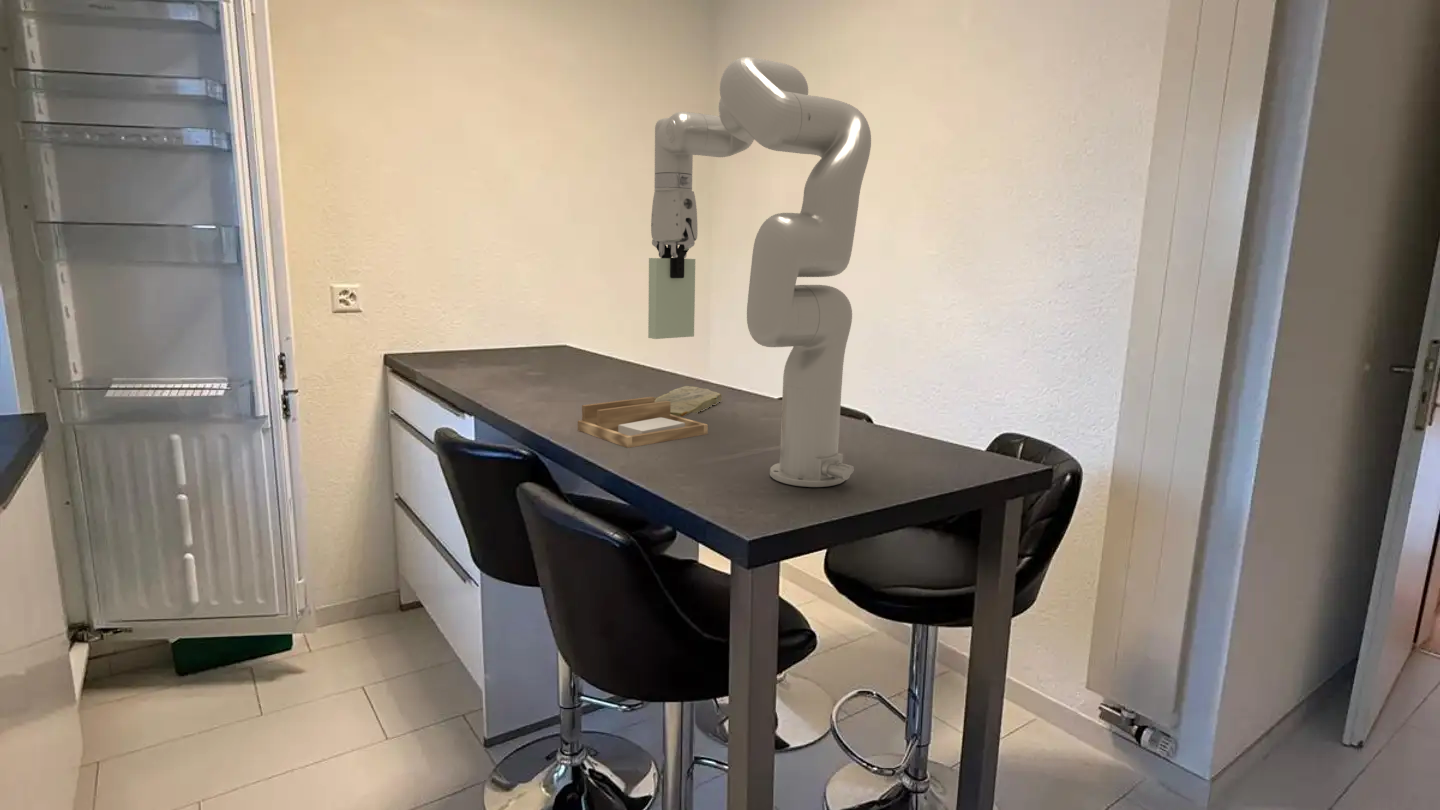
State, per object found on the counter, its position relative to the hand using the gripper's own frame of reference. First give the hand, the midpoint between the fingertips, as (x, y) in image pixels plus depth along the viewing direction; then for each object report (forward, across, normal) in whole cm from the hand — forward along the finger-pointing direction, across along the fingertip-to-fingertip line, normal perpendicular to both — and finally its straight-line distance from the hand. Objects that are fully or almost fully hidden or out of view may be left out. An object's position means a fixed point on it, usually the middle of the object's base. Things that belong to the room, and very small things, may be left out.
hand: (672, 276), depth 161 cm
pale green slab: (+12, 0, 0) cm, 12 cm away
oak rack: (+31, -5, +11) cm, 33 cm away
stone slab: (+32, +14, -15) cm, 38 cm away
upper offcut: (+30, -8, +11) cm, 33 cm away
